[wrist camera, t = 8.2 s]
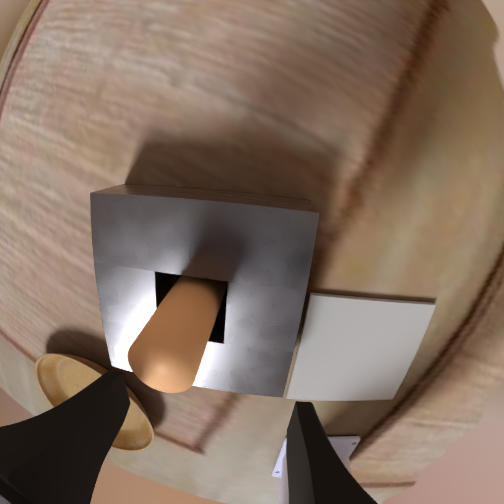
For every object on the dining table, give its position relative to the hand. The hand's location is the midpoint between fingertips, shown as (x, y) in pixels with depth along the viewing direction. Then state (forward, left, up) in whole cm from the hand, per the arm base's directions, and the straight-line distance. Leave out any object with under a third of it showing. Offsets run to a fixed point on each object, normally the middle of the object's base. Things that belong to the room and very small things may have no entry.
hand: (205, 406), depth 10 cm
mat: (-4, -10, -10) cm, 14 cm away
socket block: (+1, +2, -10) cm, 10 cm away
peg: (+1, +2, -10) cm, 10 cm away
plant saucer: (-15, +14, -10) cm, 23 cm away
